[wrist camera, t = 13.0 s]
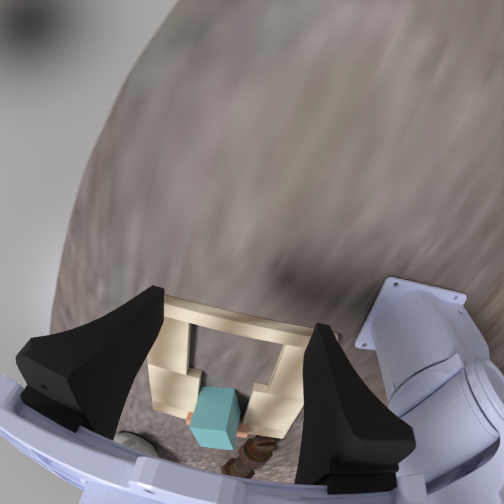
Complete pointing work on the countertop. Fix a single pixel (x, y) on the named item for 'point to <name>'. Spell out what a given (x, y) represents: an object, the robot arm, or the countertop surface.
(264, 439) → the bolt
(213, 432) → the slider block
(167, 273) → the countertop surface
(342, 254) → the countertop surface
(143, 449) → the teacup
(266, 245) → the countertop surface
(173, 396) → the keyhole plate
